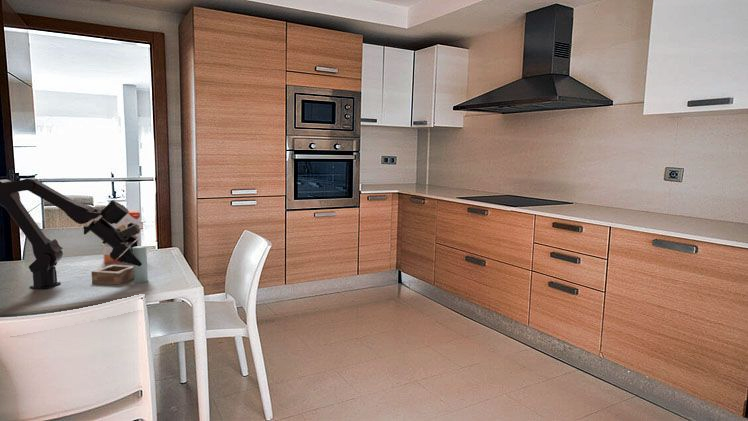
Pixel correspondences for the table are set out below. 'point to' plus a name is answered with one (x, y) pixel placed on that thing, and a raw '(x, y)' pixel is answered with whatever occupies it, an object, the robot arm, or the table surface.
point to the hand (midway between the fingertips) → (143, 262)
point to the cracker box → (129, 218)
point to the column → (141, 271)
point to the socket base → (113, 274)
